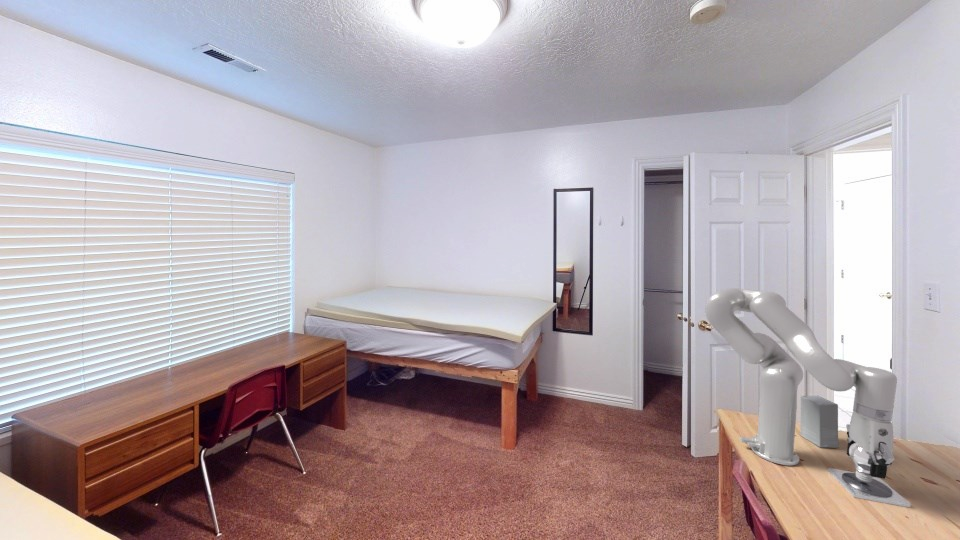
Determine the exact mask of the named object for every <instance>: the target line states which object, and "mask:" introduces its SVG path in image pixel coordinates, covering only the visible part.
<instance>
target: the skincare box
mask: <svg viewBox="0 0 960 540" xmlns="http://www.w3.org/2000/svg"><path fill="white" fill-rule="evenodd" d="M800 436H801V437H802V438H804V439H806V440H807V441H809V442H810V443H812V444H813V445H815V446H817V447H818V448H834V449H838V447H839V404H838V403H835V402H833V401H832V400H828V399H827V398H824V397H821V396H819V395H800Z"/></svg>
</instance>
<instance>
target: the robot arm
mask: <svg viewBox="0 0 960 540" xmlns="http://www.w3.org/2000/svg"><path fill="white" fill-rule="evenodd" d="M736 311H739V312H745V313H752V314H753V316H755V318H757V319H758V320H759V321H760V322H761V323H762V324H763V325H764V326H766V328H767V329H769V330H770V331H771V332H772V333H773V334H774V335H775V336H776V337H777V338H778V339H779V340H781V342H782V343H783V344H784V345H785V347H786V348H787V350H788V351H789V352H790V353H791V354H792V356H794V358H793V357H792V356H791V355H790V354H789V353H788V352H787V351H786V350H785V349H784V348H783V347H782V346H781V345H780V344H779V343H778V342H777V341H776V340H774V339H773V338H772V337H770V336H769V335H767V334H765V333H761V332H754V331H752V330H751V329H750V328H749V327H748V325H747V324H745V323H744V322H743V320H741V319H740V318H739V317H737V316H736V315H735V313H734V312H736ZM704 312H705V317H706V320H707V321H708V323H709V324H710V325H711V327H712V328H713V329H714V330H715V331H716V332H717V333H718V334H719V335H720V336H721V337H722V338H723V339H724V341H726V343H727V344H728V345H729V346H730V347H731V348H732V349H733V351H735V353H736V354H737V355H739V357H740V358H741V359H742V360H744V361H745V362H746V363H748V364H751V365H759V366H761V367H762V370H761V372H760V374H759V378H758V379H759V381H758V382H759V402H758V403H759V404H758V407H759V408H758V422H757V434H754V435H753V437H752V436H751V437H745V436H740V437H739V441H740V443H744V444H747V446H748V447H750V448H751V450H752V452H753V453H754V454H755V455H757V457H758V456H759V457H760V458H762V459H764V460H766V461H767V462H768V461H769V462H770V463H775V464H777V465H781V466H782V465H783V466H796V465H798V464H799V463H800V457H799V455H798V454H797V453H796V452H794V450H795V449H794V448H795V437H796V435H795V434H796V425H797V408H798V405H797V403H798V388H799V385H800V384H801V382H802V380H803V378H804V371H803V369H802V367H803V368H804V370H805V371H807V373H808V374H810V375H811V376H812V378H814V379H815V380H817V382H818V383H820V384H821V385H822V386H823V387H824V388H826V389H829V390H831V391H834V392H846V391H849V390H851V389H852V388H853V387H854V388H855V391H854V400H853V408H852V414H851V418H850V422H849V424H846V425H845V428H846V436H847V439H846V440H847V442H848V443H847V447H846V448H847V449H846V455H847V456H848V457H850V455H849V447H850V446H851V445H852V444H853V443H857V444H858V445H859V446H861V447H862V448H863V449H864V450H866V451H867V452H868V453H870V454H871V456H872V459H873V462H871V467H870V475H871V476H872V477H877V478H880V479H882V480H885V479H886V478H887V472H888V471H887V470H888V468H889V467H890V466H891V465H892V463H893V461H895V456H894V455H893V452H894V426H893V423H892V420H893V413H894V406H895V398H896V391H897V383H898V377H897V375H896V374H894V373H893V372H891V371H890V370H889V371H888V370H886V369H883V368H880V367H879V368H878V367H871V366H865V365H861V364H859V363H853V362H851V361H848V360H844V359H841V358H840V359H839V358H834V357H832V356H831V355H830V354H829V353H827V351H825V349H824V348H823V347H822V346H821V344H820V343H819V342H818V340H817V338H816V335H815V334H814V332H813V330H812V328H811V326H809V325H808V324H807V323H805V322H804V321H803V320H802V319H801V318H800V317H799V316H798V315H796V314H795V313H794V312H793V311H792V310H791V309H789V307H787V303H786V300H785V298H784V297H783V296H782V295H781V294H778V293H777V292H774V291H765V290H764V291H763V290H754V289H746V288H738V287H730V288H729V287H728V288H725V289H720V290H717V291H716V292H714V293H712V294H711V295H710V296H709V297H708V299H707V300H706V304H705V307H704ZM795 359H796V360H795ZM801 366H802V367H801ZM874 451H880V453H877V452H874ZM877 456H881V457H882V458H881V459H879V460H878V459H877Z"/></svg>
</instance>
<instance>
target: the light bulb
mask: <svg viewBox="0 0 960 540" xmlns="http://www.w3.org/2000/svg"><path fill="white" fill-rule="evenodd" d="M874 452H877V453H880V451H874ZM849 455H850V456H849V458H850V459H851V460H852V462H853V464H854V468H855V473H856V477H857V478H858V479H859V480H860V481H861V482H862V483H870V482H871V481H872V476H871V475H870V467H871V462H873V459H872V456H871V454H870V453H868V452H867V451H866V450H864V449H863V448H862V447H861V446H859V445H858V444H857V443H853V444H852V445H851V446H850V447H849ZM881 458H882V457H881V456H877V459H878V460H879V459H881Z"/></svg>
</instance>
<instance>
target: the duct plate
mask: <svg viewBox="0 0 960 540" xmlns="http://www.w3.org/2000/svg"><path fill="white" fill-rule="evenodd" d="M827 472H828V473H829V474H830V475H831V476H832V478H834V479H835V480H836V481H837V483H839V484H840V485H841V486H842V487H843V488H844V489H845V490H846V491H847V492H848V493H849V494H850V495H851V496H852V497H853V498H855V499H861V500H867V501H873V502H879V503H882V504H883V503H884V504H887V505H889V504H890V505H894V506H900V507H904V508H911V505H912V504H911V503H910V502H909V501H907V500H906V498H905V497H904V496H902V495H900V494H899V493H898V492H897V491H896V490H895V489H894V488H892V487H891V486H890V485H889V484H888V483H886V482H885V481H884V479H882V478H877V477H872V481H871V482H870V483H862V482H861V481H860V480H859V479H858V478H857V477H856V471H855V472H853V471H848V470H842V469H836V468H830V467H827Z"/></svg>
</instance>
